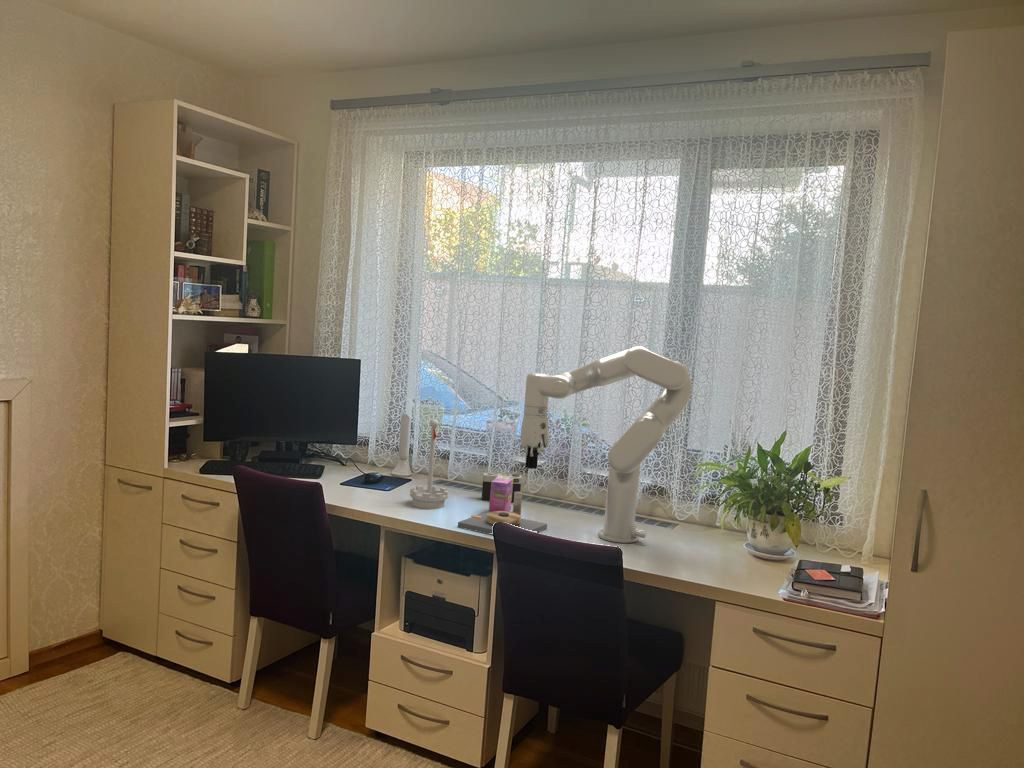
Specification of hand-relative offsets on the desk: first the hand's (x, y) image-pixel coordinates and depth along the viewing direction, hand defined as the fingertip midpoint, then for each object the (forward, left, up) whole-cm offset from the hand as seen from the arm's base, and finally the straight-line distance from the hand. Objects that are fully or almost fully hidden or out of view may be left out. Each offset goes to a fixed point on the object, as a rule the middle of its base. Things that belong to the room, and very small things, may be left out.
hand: (531, 467), depth 259 cm
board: (+5, +7, -19) cm, 21 cm away
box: (+15, -8, -19) cm, 26 cm away
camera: (+23, -23, -19) cm, 38 cm away
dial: (+4, +5, -17) cm, 18 cm away
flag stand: (+39, 0, -19) cm, 43 cm away
